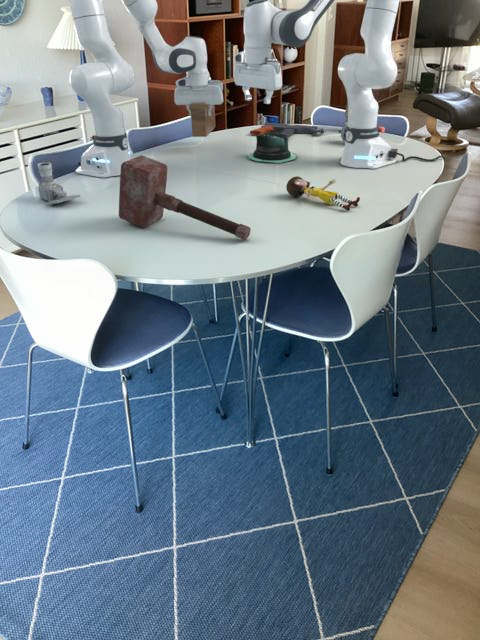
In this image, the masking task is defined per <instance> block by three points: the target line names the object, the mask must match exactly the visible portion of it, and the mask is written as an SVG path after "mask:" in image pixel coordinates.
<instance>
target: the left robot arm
mask: <svg viewBox="0 0 480 640" xmlns="http://www.w3.org/2000/svg"><path fill="white" fill-rule="evenodd" d="M120 1H121V2H122V4H123V6H124V7H125V9H126V10H127V12H128V13H129V15H130V16H131V18H132V19H133V21H134V23H135V24H136V25H137V28H138V29H139V32H140V33H141V35H142V37H143V38H144V40H145V42H146V44H147V45H148V47H149V49H150V52H151V54H152V58H153V62H154V65H155V67H156V69H157V70H158V71H160V72H161V73H163V74H176V75H179V74H184V73H186V75H185V76H183V77H181V78H178V79H177V80H175V86H176V87H175V89H174V94H173V95H174V104H175V105H176V106H185V108H186V110H187V112H188V115H189V117H191V107H190V104H191V103H206V105H209V107H210V109H209V111H207V116H211V110H212V108H213V105H214V106H217V105H222V104H223V103H224V93H223V91H224V84H223V82H222V81H220V80H219V79H216V80H215V79H209V70H208V65H207V64H208V52H207V51H208V50H207V44H206V41H205V40H204V38H202V37H200V36H194V35H193V36H192V35H187V36H185V37H184V39H183V40H182V41H181V42H180V43H178V44H176V45H174V46H171V45H170V44H168V43H166V41H165V40H164V38H163V36H162V34H161V33H160V31H159V28H158V27H157V25H156V21H155V18H156V16H157V13H158V8H159V7H158V2H157V0H120ZM69 5H70V11H71V16H72V21H73V25H74V30H75V33H76V37H77V42H78V45H79V46H80V47H81V48H82V49H83V50H85V51H88V53H90V55H91V56H92V58H93V59H94V61H93V62H84V63H82V64H80V65H77V66H74V67H73V68H72V69H71V70H70V73H69V85H70V87H71V89H72V90H73V92H74V94H76V95H77V96H79V97H80V98H81V99H83V101H84V102H85V104H86V105H87V107H88V108H89V110H90V113H91V116H92V121H93V126H94V132H95V134H93V135H92V136H90V137H89V141H92V145H91V146H90V147H88V148H87V149H86V150H85V151H84V152H83V153H82V154H81V157H80V159H79V161H78V162H77V165H79V167H77V168H76V169H75V174H79V175H85V176H90V177H97V178H111V177H116V176H120V173H121V164H122V163H123V162H125V161H128V160H130V159H131V156H130V155H131V152H130V151H129V142H128V135H127V132H126V126H125V119H124V118H125V117H124V112H123V111H122V109H121V108H120V107H118V106H116V105H114V103H112V100H111V97H110V95H112V94H117V93H118V94H119V93H122V92H124V91H126V90H128V89H131V88H132V86H133V85H134V83H135V71H134V69H133V67H132V66H131V64H130V63H129V62H128V61H127V60H125V59H124V58H123V57H122V56H121V55H120V53H119V52H118V50H117V49H116V47H115V44H114V43H113V40H112V38H111V34H110V31H109V26H108V21H107V17H106V13H105V9H104V6H103V0H69Z"/></svg>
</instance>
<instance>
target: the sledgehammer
mask: <svg viewBox="0 0 480 640" xmlns="http://www.w3.org/2000/svg"><path fill="white" fill-rule="evenodd" d="M168 168H169V167H168V166H167V164H166V163H164V162H161V161H158V160H155V159H153V158H150V157H147V156H145V155H143V154H142V155H138V156H136V157H133V158H130V160H128V161H125V162H123V163H122V164H121V173H120V175H119V190H118V191H119V194H118V217H119V218H120V219H121V220H124V221H125V222H128V223H131V224H133V225H135V226H138V227H139V228H142V229H146V228H148V227H149V226H151V225H153V224H154V223H157V222H158V221H160V220H161V219H162V218H163V217H164V210H167V211H171V212H173V213H177V214H180V215H181V214H182V215H184V216H187V217H189V218H191V219H194V220H196V221H199V222H202V223H203V224H207V225H208V226H212V227H214V228H217V229H218V230H222V231H224V232H226V233H229V234H231V235H234V236H235V237H236V238H239V239H241V240H244V241H247V239H248V238H249V237H250V234H251V231H252V228H251V226H248V225H246V224H243V223H237V222H236V221H233V220H230V219H227V218H225V217H223V216H220V215H218V214H216V213H213V212H209V211H207V210H204V209H202V208H201V207H200V208H199V207H197V206H195V205H192V204H190V203H187V202H184V200H182V199H179V198H177V197H176V196H174V195H171V194H168V193H166V190H167V179H168Z"/></svg>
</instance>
